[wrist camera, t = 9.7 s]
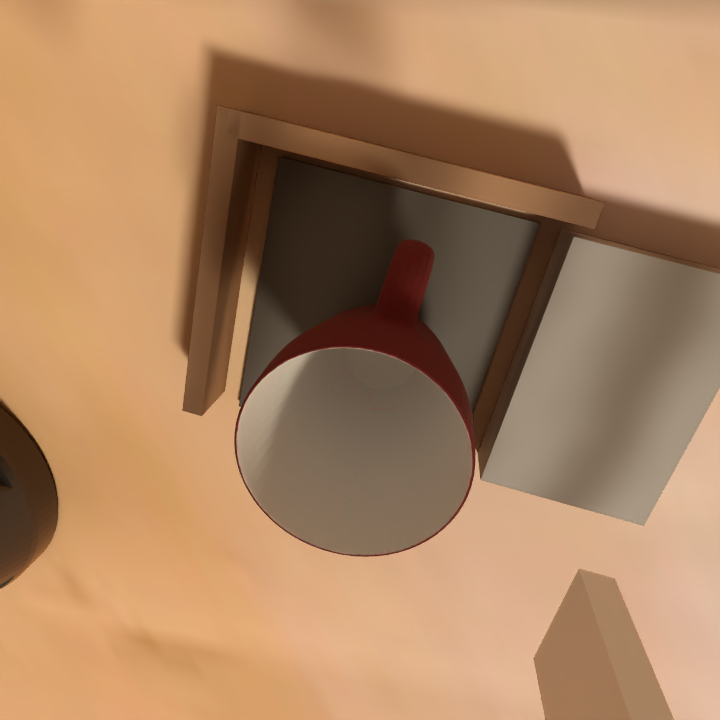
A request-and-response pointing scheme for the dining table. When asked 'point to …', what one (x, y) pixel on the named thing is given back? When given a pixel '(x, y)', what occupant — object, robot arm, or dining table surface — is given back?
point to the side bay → (470, 307)
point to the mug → (362, 425)
